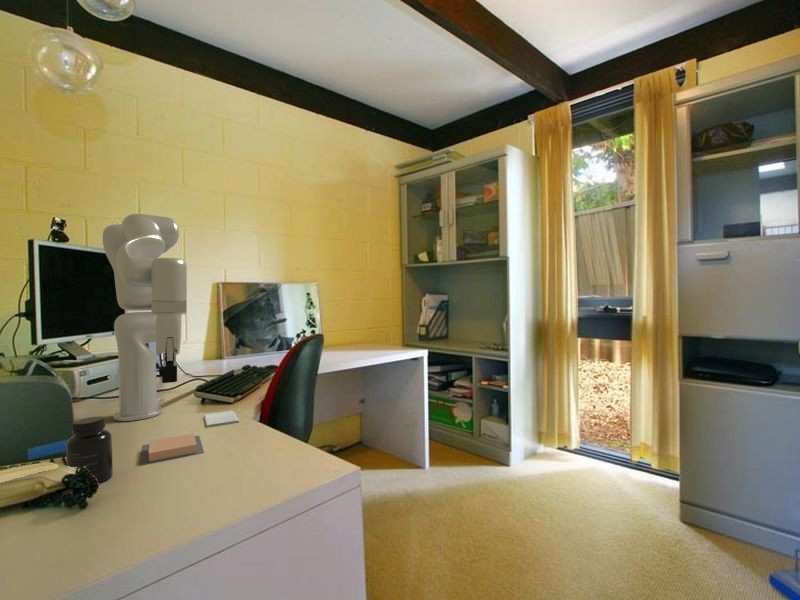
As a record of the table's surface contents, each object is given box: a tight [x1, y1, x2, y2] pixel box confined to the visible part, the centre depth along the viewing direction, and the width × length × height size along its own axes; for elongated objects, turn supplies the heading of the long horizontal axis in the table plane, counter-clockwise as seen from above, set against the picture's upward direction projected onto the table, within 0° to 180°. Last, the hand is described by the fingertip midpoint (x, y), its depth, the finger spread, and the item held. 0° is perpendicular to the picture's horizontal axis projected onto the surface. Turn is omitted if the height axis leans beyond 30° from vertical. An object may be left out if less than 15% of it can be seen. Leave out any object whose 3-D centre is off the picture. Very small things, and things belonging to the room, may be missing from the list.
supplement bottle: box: [65, 416, 114, 485], centre depth 74 cm, size 7×7×12 cm
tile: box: [148, 432, 197, 462], centre depth 88 cm, size 2×9×9 cm
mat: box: [139, 434, 205, 467], centre depth 90 cm, size 14×12×1 cm
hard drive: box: [203, 410, 240, 429], centre depth 113 cm, size 2×8×12 cm
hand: (169, 381), depth 97 cm, fingers closed
